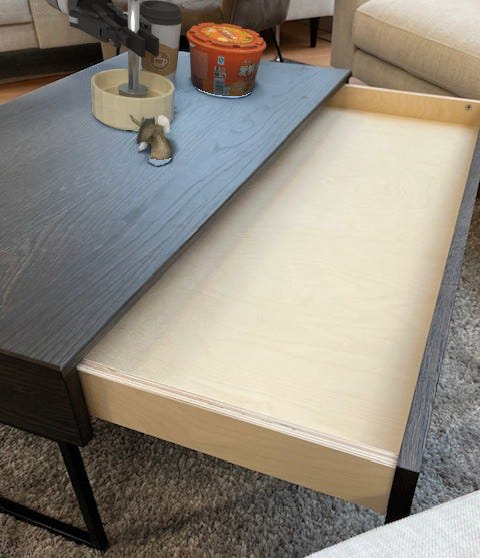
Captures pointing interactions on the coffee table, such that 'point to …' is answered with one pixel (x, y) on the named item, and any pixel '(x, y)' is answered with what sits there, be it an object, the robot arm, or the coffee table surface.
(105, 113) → the bowl
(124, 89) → the ball-top lever stand
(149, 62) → the coffee cup
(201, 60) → the food container
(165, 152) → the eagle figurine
